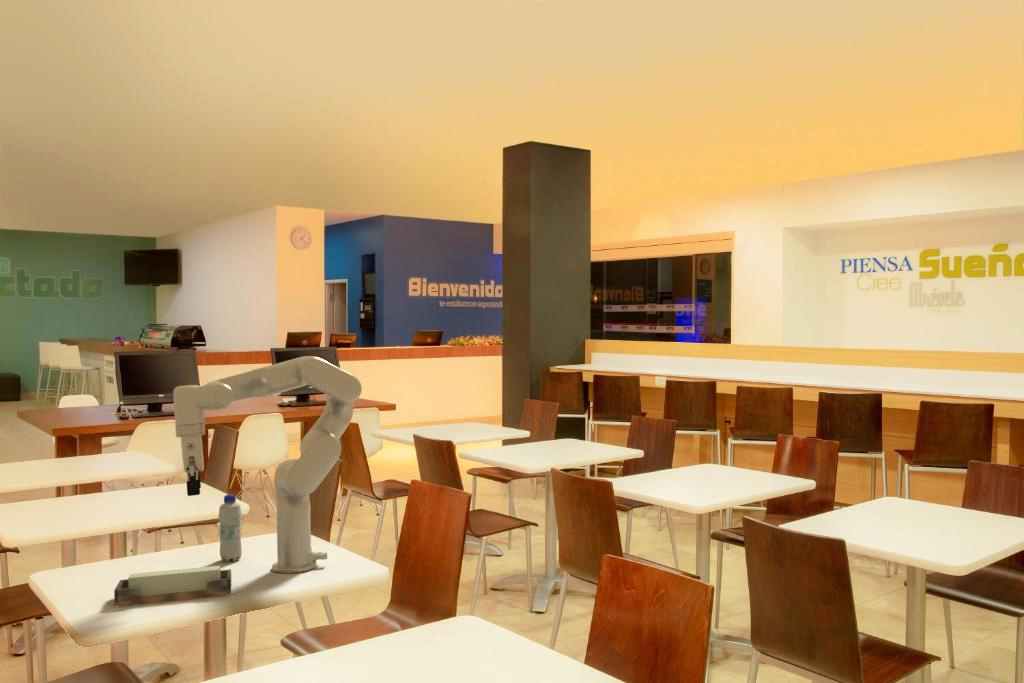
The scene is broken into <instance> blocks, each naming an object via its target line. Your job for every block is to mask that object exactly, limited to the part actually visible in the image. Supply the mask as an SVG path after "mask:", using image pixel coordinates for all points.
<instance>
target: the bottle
mask: <svg viewBox="0 0 1024 683" xmlns="http://www.w3.org/2000/svg"><path fill="white" fill-rule="evenodd" d="M242 515H243V514H242V507H241V504H240V503H238V502H236V495H235V494H231V493H230V494H226V495H224V497H223V503H222V504H221V505H220V506H219V510H218V522H219V532H220V533H219V534H220V535H219V536H220V538H219V539H220V542H219V556H220V559H221V561H222V562H227V563H229V562H228V561H230V562H231V559H232V562H235V561H237V559H239V560H240V559H241V557H242V554H243V552H242V551H243V549H242V534H241V533H242V532H241V530H242V529H241V525H242V524H241V521H242V517H243V516H242Z"/></svg>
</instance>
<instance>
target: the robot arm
mask: <svg viewBox="0 0 1024 683" xmlns="http://www.w3.org/2000/svg"><path fill="white" fill-rule="evenodd" d="M305 386H311V387H312V388H315V389H316V390H318V391H320V392H322V393H323V394H324V396H325V401H326V402H325V407H324V410H323V411H322V413H321V414H320V417H319V418H318V419H317V420H316V421H315V423H314V424H313V426H311V428H310V429H309V430H308V432H307V433H306V434H305V435H304V437H303V438H302V439H301V442H300V444H299V450H300V453H301V455H300V457H298V459H297V458H296V459H295V458H290V459H289V458H288V459H285V460H283V461H282V462H281V463H280V464H278V466H277V467H276V469H275V472H274V475H273V476H274V478H273V482H274V483H273V484H274V490H275V499H276V500H275V501H276V502H275V503H276V544H277V546H276V550H277V551H276V552H277V553H276V554H277V555H276V556H277V557H276V558H277V561H275V562H274V563H272V565H271V569H272V571H274V572H275V571H276V572H275V573H279V572H281V573H280V574H294V573H295V572H297V573H303V572H307V570H308V571H310V570H313V569H314V568H316V567H317V560H318V561H320V560H322V561H323V560H327V559H328V553H327V552H323V551H318V552H315V551H313V549H312V545H311V544H312V542H311V541H312V537H311V536H312V535H311V534H312V533H311V528H312V527H311V499H310V494H312V493H313V492H315V491H316V490H317V488H318V487H319V486H320V484H322V482H323V481H324V479H325V478H326V477H327V475H328V474H329V473H330V471H331V470H332V469H333V468H334V466H335V465H336V463H337V462H338V460H339V458H340V456H341V453H342V445H341V441H340V438H342V436H343V434H344V433H345V431H346V429H348V426H350V424H351V421H352V419H353V415H354V402H355V401H356V400H358V399H359V398H360V396H361V393H362V389H363V388H362V383H361V381H360V380H359V379H358V378H357V376H355V375H353V374H351V373H350V372H348V371H346V370H344V369H342V368H340V367H338V366H336V365H334V364H332V363H330V362H328V361H327V360H325V359H323V358H320V357H318V356H313V355H312V356H310V355H308V356H307V355H304V356H300V357H296V358H293V359H289V360H285V361H282V362H278V363H275V364H271V365H267V366H266V365H265V366H263V367H258V368H255V369H252V370H249V371H246V372H243V373H238V374H234V375H231V376H227V377H223V378H219V379H216V380H215V379H214V380H213V381H209V382H207V383H205V384H204V385H198V384H186V385H178V386H176V387H175V388H174V389H173V391H172V392H173V394H172V396H173V410H174V413H173V414H174V426H175V437H176V438H180V445H181V455H182V457H181V458H182V464H183V470H184V473H185V474H186V492H187V495H186V496H188V497H190V496H191V497H192V496H199V495H200V494H201V488H202V486H201V485H202V484H201V474H200V472H202V473H203V471H204V468H205V464H204V451H203V450H204V449H203V448H204V447H203V440H202V439H203V438H202V436H204V435H206V426H205V425H206V423H205V410H207V411H208V410H209V411H210V410H214V411H215V410H217V411H218V410H219V411H221V410H225V409H227V408H229V406H231V405H232V404H233V403H234V402H237V401H242V400H245V399H251V398H266V397H270V396H274V395H277V394H282V393H284V392H288V391H292V390H294V389H298V388H302V387H305ZM302 571H303V572H302ZM295 574H296V573H295Z"/></svg>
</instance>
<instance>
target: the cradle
mask: <svg viewBox="0 0 1024 683" xmlns="http://www.w3.org/2000/svg"><path fill="white" fill-rule="evenodd" d="M113 591H114V592H113V593H114V599H113V600H114V607H115V606H121V607H127V606H126V605H130V606H135V605H134V604H140V605H150V604H156V603H157V604H158V603H165V602H166V603H167V602H177V601H186V600H196V599H206V598H205V597H207V598H213V597H214V596H216V597H224V596H223V595H226V596H231V595H230V594H231V593H232V569H231V568H229V569H220V579H217V580H207V590H199V591H189V592H180V593H170V594H160V595H150V596H140V587H136V588H129V584H128V578H127V579H120V580H119V581H118V583H117V585H116V587H115V589H114V590H113ZM214 598H215V597H214ZM146 603H148V604H146Z"/></svg>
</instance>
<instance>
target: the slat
mask: <svg viewBox="0 0 1024 683" xmlns="http://www.w3.org/2000/svg"><path fill="white" fill-rule="evenodd" d="M220 570H221V565H213V566H212V565H210V566H200V567H193V568H192V567H191V568H181V569H170V570H169V569H168V570H160V571H159V570H158V571H149V572H148V571H147V572H137V573H130V574H129V576H128V578H127V579H128V584H129V588H136V587H140V596H150V595H160V594H170V593H180V592H189V591H199V590H207V580H217V579H220Z"/></svg>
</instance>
